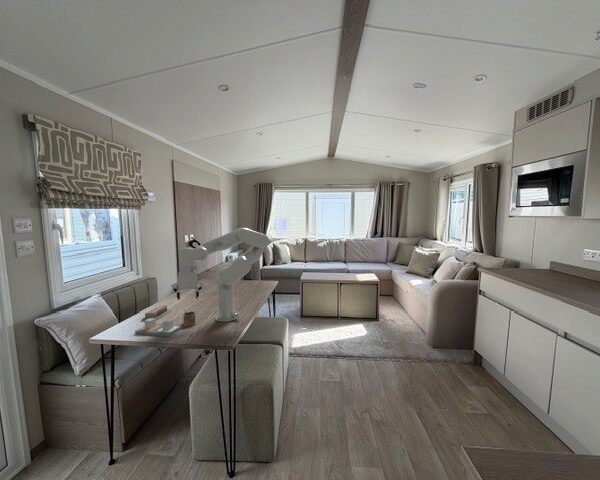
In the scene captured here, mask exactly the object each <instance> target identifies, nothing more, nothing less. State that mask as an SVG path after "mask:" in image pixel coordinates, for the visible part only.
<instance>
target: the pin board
mask: <svg viewBox="0 0 600 480" xmlns="http://www.w3.org/2000/svg"><path fill="white" fill-rule="evenodd" d="M156 321H157V320H156V319H153V318H149V319H147V320H144V326H143V327H141V328H139V329H137V330H135V331H134V333H136V334H135V335H141V334H145V335H146V336H155V337H170V336H172V335H174V334H175V333H177V332H179V331H180V330H182V329H183V325H182V324H181V325H180V324H174V319H167V318H166V319H165V320H164V321H162V323H156ZM145 335H144V336H145Z"/></svg>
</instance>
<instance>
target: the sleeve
mask: <svg viewBox="0 0 600 480" xmlns="http://www.w3.org/2000/svg"><path fill="white" fill-rule="evenodd" d="M195 325H196V311H187V312H186V311H185V312H184V313H183V326H184V327H189V326H195Z"/></svg>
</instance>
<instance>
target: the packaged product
mask: <svg viewBox="0 0 600 480" xmlns="http://www.w3.org/2000/svg"><path fill="white" fill-rule="evenodd" d="M171 311H172V308H171V309H170V308H169V309H168V305H163V304H162V305H159V306H156V307H155V308H152V309H151V310H149V311H147V312H145V314H144V317H142V318H141V321H145V320H147V319H149V318H153V319H156V321H158V320H160V319H162V318H163V317H164V316H167V315H168V314H169V313H171Z"/></svg>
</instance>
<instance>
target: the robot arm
mask: <svg viewBox="0 0 600 480" xmlns="http://www.w3.org/2000/svg"><path fill="white" fill-rule="evenodd" d="M241 243H244V244H247V245H250V247H249V249H246V251H244V252H243V253H241V254H240V255H238V256H236V258H234V260H232V264H230V265H229V266H220V267H219V268H218V269H217V271H216V274H215V275H216V276H215V278H216V288H217V315H216V316H215V320H216V321H217V322H220V323H223V322H227V323H228V322H231V321H235V320H237V318H240V317H241V313H240V312H237V310H236V309H235V290H234V283H237V282H238V281H239V280H240V279H242V278H243V277H245V276H246V275H247V274H248V273H249V272H250V271H251V268H252V265H253V264H254V263H256V262H257V261H258V260H260V258H261V257H262V255H263V253H264V250H265V248H267V247H268V246H269V244H270V238H269V236H268V235H266V234H265V233H262V232H258V231H255V230H252V229H250V228H247V227H239V228H237V229H234V230H232V231H229V232H228V233H226V234H223V235H221V236H218V237H216V238H214V239H212V240H208V241H207V242H204V243H202V244H200V245H198V246H196V247H195V248H193V247H189V246H188V247H181V248H180V249H179V272H178V277H177V281H176V282H175V283H172V284H171V286H170V287H171V289H172V290H173V291H174V293H176V299H177V300H178V301H180V299H181V292H180V291H182V290H183V291H184V290H185V291H186V290H195V299H198V298H199V297H200V291H201V290H202V289H203V287H204V282H201V281H199V280H198V277H197V272H196V270H197V269H198V266H195V261H204V260H206V259H207V258H208V256H209V255H211V254H213V253H216V252H221V251H226V250H229V249H230V248H233V247H235V246H238V245H240V244H241ZM198 285H199V287H198ZM176 286H177V288H176Z"/></svg>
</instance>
